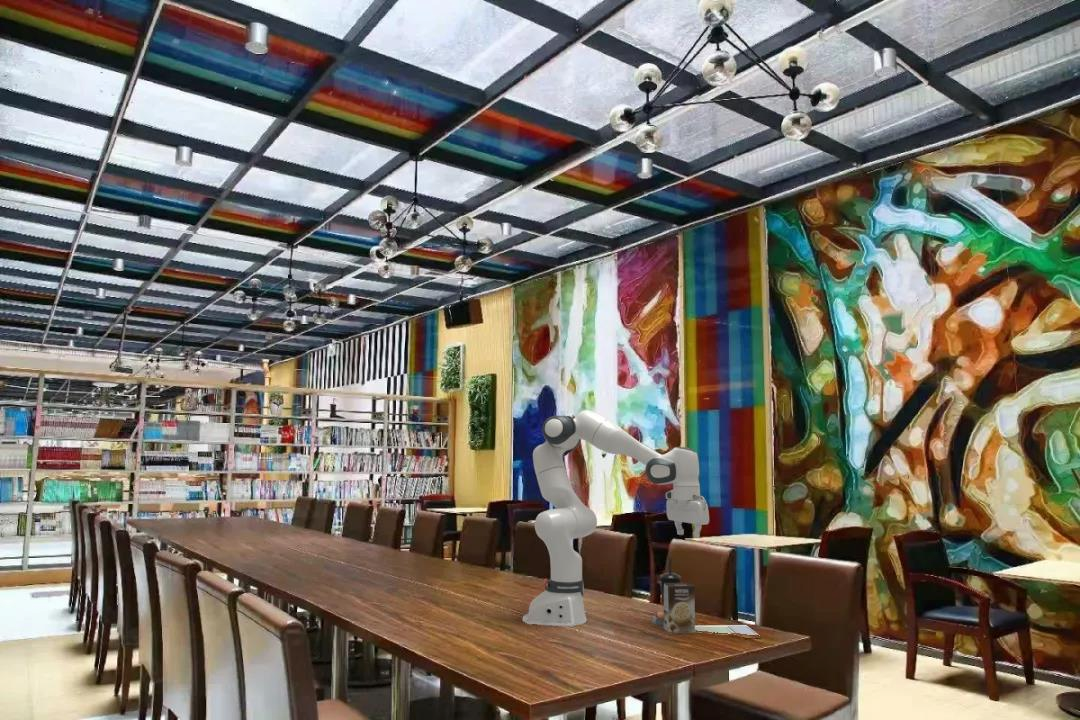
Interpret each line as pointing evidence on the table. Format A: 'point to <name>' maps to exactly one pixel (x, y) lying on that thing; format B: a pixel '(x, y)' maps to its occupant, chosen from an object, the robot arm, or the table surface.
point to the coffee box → (679, 607)
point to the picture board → (726, 629)
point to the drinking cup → (669, 578)
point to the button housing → (657, 621)
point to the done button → (660, 615)
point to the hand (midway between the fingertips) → (688, 536)
